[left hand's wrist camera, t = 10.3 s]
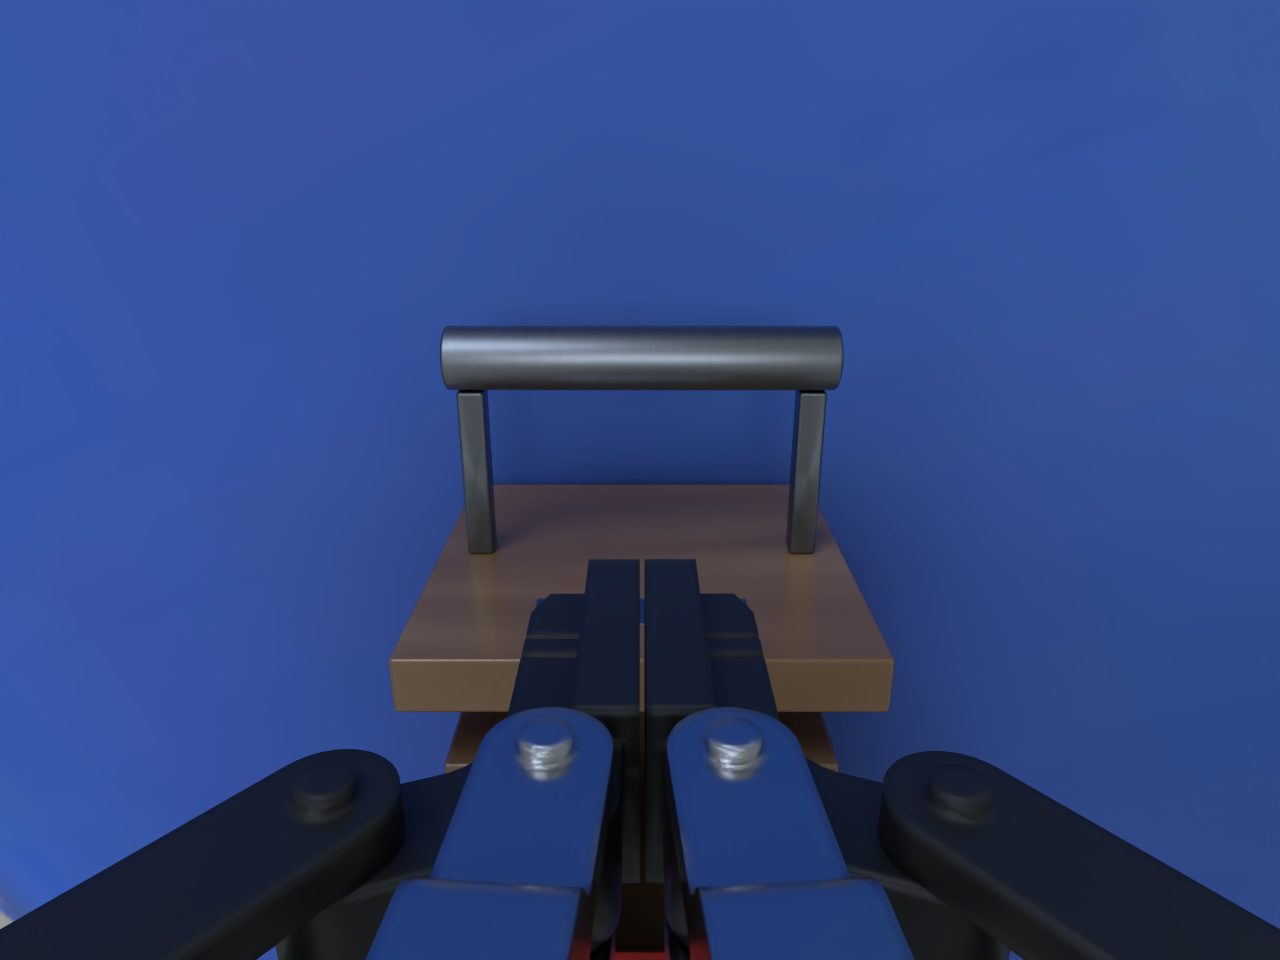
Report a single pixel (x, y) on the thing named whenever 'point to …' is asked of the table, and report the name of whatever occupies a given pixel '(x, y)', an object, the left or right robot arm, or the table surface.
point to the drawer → (641, 541)
